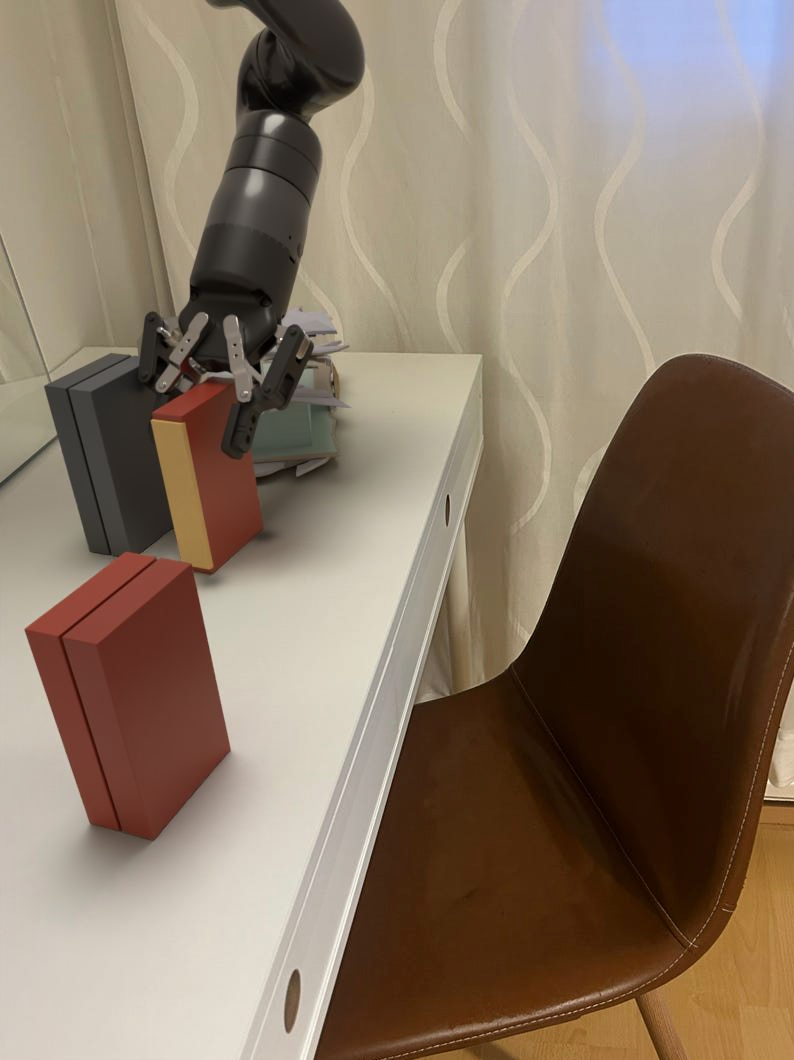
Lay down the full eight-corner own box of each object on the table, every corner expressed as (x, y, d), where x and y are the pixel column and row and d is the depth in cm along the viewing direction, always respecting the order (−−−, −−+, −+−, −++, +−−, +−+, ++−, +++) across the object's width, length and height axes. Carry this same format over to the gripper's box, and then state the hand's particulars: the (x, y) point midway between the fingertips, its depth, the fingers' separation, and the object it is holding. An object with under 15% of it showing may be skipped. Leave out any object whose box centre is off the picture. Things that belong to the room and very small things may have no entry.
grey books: (89, 551, 80) (43, 385, 72) (147, 509, 86) (110, 352, 78) (132, 559, 78) (90, 391, 70) (188, 515, 85) (155, 357, 77)
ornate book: (153, 397, 111) (112, 503, 86) (135, 311, 106) (87, 398, 81) (350, 383, 114) (366, 482, 89) (342, 299, 109) (356, 379, 84)
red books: (89, 823, 54) (23, 628, 46) (172, 735, 60) (125, 551, 53) (153, 841, 53) (96, 644, 45) (231, 748, 59) (192, 562, 52)
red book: (183, 570, 77) (148, 413, 69) (237, 523, 83) (211, 375, 76) (211, 575, 76) (179, 417, 69) (264, 528, 82) (240, 379, 75)
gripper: (146, 214, 74) (85, 420, 72) (315, 223, 70) (256, 442, 68) (197, 269, 81) (143, 458, 79) (353, 281, 77) (301, 480, 75)
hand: (195, 450), depth 73 cm, fingers open, 5 cm apart
